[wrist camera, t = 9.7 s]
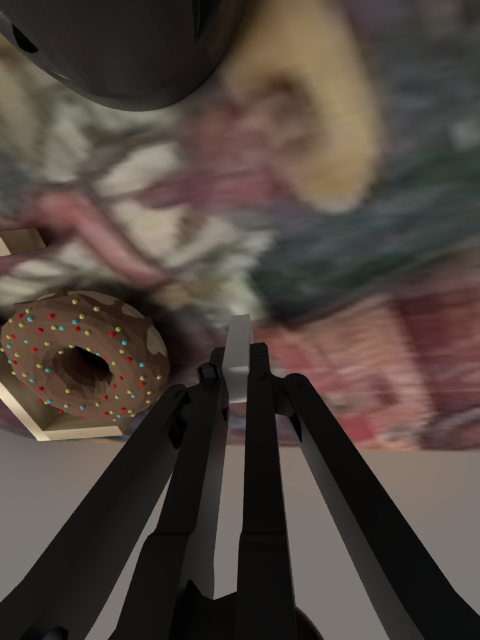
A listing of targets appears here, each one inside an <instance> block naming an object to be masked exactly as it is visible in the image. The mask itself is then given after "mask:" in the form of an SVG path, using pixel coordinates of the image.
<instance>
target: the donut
mask: <svg viewBox="0 0 480 640" xmlns="http://www.w3.org/2000/svg"><path fill="white" fill-rule="evenodd" d="M13 305H14V309H15V313H16V314H15V315H14V316H13V317H12V318H10V319H9V321H8V322H7V323H5V324H4V325H3V326H2V330H1V340H0V342H1V344H2V346H3V347H2V348H1V351H5V353H6V355H7V357H8V359H9V360H8V362H9V363H11V366H12V368H13V370H14V371H13V372H12V374H14V375H16V377H17V378H18V379H19V380H20V381H21V382H22V383H21V385H23V386H24V385H26V386H27V387H28V388H29V389H30V390H31V391H32V392H33V393H35V394H36V395H37V396H38V397H39V400H38V401H39V402H42V401H44V403H45V404H50V405H52V406H54V407H57V408H59V409H61V410H60V411H59V413H60V414H62V413H64V412H67V413H69V414H72V415H74V416H78V417H80V419H83V418H91V419H97V421H101V420H103V421H107V420H113V421H116V420H117V419H120V418H125V417H128V416H132V417H134V416H135V414H136V413H139V412H142V411H144V410H146V409H148V407H149V406H150V405H151V404H152V403H153V402H154V400H155V399H156V398H157V397H158V396H159V395H160V394H161V392H162V391H163V390H164V389H165V388H166V386H167V385H168V382H169V376H168V374H169V373H170V364H169V360H168V355H167V349H166V346H165V344H164V342H163V340H162V338H161V336H160V334H159V332H158V331H157V330H156V329H155V327H154V325H153V323H152V320H151V317H149V316H143V315H142V314H141V313H139V312H138V311H137V310H136V309H134V308H133V307H132V306H130V305H128V304H126V303H124V302H123V301H122V300H118V299H117V298H115V297H112V296H109V295H105V294H102V293H98V292H95V291H81V290H74V289H71V288H69V287H65V288H63V289H60V290H59V291H57V292H56V293H53V294H48V295H44V296H41V297H40V298H38V299H37V300H35V301H28V302H22V303H15V304H13ZM78 346H79V347H81V348H83V349H85V350H87V351H89V352H92V353H94V354H96V355H98V356H100V357H102V358H103V359H104V360H105V361H106V362H107V363H108V365H109V369H110V371H105V370H102V369H99V368H97V367H95V366H93V365H92V364H90V363H89V362H87V361H86V360H85V359H84V357H83V356H82V354H81V353H80V352H79V350H78Z"/></svg>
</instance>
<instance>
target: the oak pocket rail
mask: <svg viewBox="0 0 480 640" xmlns="http://www.w3.org/2000/svg"><path fill="white" fill-rule="evenodd" d="M40 248H46V245H45V243H44V241H43V240H42V238H41V236H40V234H39V232H38V230H37V229H36V228H29V229H19V230H8V231H0V256H5V255H10V254H15V253H20V252H25V251H30V250H35V249H40ZM1 330H2V326H1V325H0V340H1ZM2 347H3V346H2V344H1V342H0V398H1V399H2V401H3V402H4V403H5V404H6V405H7V406H8V407H9V408H10V410H11V411H12V412H13V413H14V414H15V415H16V416H17V417H18V418H19V420H20V421H21V422H22V423H23V424H24V425H25V426H26V427H27V428H28V430H29V431H30V432H31V433H32V434H33V435H34V436H35V437H36V438H37V440H38V441H45V440H59V439H73V438H87V437H101V436H116V435H123V434H124V432H125V431H126V429H127V427H128V425H129V424H130V422H131V420H132V418H133V417H132V416H128V417H125V418H120V419H117V420H116V421H113V420H107V421H103V420H101V421H97V419H91V418H83V419H80V417H78V416H74V415H72V414H69V413H67V412H64V413H62V414H60V413H59V411H60V410H61V409H59V408H57V407H54V406H52V405H50V404H45V403H44V401H42V402H39V401H38V400H39V397H38V396H37V395H36V394H35V393H33V392H32V391H31V390H30V389H29V388H28V387H27V386H26V385H24V386H23V385H21V383H22V382H21V381H20V380H19V379H18V378H17V377H16V375H14V374H12V372H13V371H14V370H13V368H12V366H11V363H9V362H8V360H9V359H8V357H7V355H6V353H5V351H1V348H2Z"/></svg>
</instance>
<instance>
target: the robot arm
mask: <svg viewBox="0 0 480 640" xmlns="http://www.w3.org/2000/svg"><path fill="white" fill-rule="evenodd" d="M247 1H248V0H0V33H1V34H2V35H3V36H4V37H5V38H6V39H7V40H8V41H9V42H10V43H11V44H12V45H13V46H14V47H15V48H17V49H18V50H19V51H20V52H21V53H22V54H23V55H25V56H26V57H27V58H28V59H29V60H30V61H32V62H33V63H34V64H35V65H37V66H38V67H39V68H41V69H42V70H43V71H45V72H46V73H48V74H49V75H51V76H52V77H54V78H55V79H57V80H58V81H60V82H61V83H63V84H64V85H66V86H67V87H69V88H70V89H72V90H73V91H75V92H77V93H78V94H80V95H82V96H83V97H85V98H87V99H89V100H91V101H93V102H96V103H98V104H101V105H103V106H106V107H110V108H113V109H118V110H124V111H148V110H153V109H158V108H161V107H164V106H167V105H169V104H172V103H174V102H176V101H178V100H180V99H181V98H183V97H184V96H186V95H187V94H189V93H190V92H191V91H193V90H194V89H195V88H196V87H197V86H199V85H200V84H201V83H202V82H203V81H204V80H205V79H206V77H207V76H208V75H209V74H210V73H211V72H212V71H213V69H214V68H215V66H216V65H217V64H218V62H219V61H220V59H221V58H222V56H223V55H224V53H225V52H226V50H227V48H228V46H229V44H230V43H231V41H232V39H233V37H234V35H235V32H236V30H237V28H238V26H239V23H240V21H241V18H242V16H243V13H244V10H245V7H246V4H247ZM196 371H197V374H198V377H199V380H200V382H199V384H197V385H194V386H192V387H189V388H186V386H185V385H183V384H175V385H172V386H171V387H169V388H168V389H167V390H166V391H165V392H164V393H163V395H162V396H161V397H160V399H159V400H158V401H157V402H156V404H155V405H154V406H153V408H152V409H151V410H150V412H149V413H148V414H147V416H146V417H145V418H144V420H143V421H142V422H141V424H140V425H139V426H138V428H137V429H136V430H135V432H134V433H133V434H132V436H131V437H130V438H129V440H128V441H127V442H126V444H125V445H124V446H123V448H122V449H121V450H120V452H119V453H118V454H117V456H116V457H115V458H114V459H113V461H112V462H111V463H110V465H109V466H108V468H107V469H106V470H105V471H104V473H103V474H102V475H101V477H100V478H99V479H98V481H97V482H96V483H95V485H94V486H93V487H92V489H91V490H90V491H89V493H88V494H87V495H86V497H85V498H84V499H83V501H82V502H81V503H80V505H79V506H78V507H77V509H76V510H75V511H74V513H73V514H72V515H71V516H70V518H69V519H68V521H67V522H66V523H65V524H64V526H63V527H62V529H61V530H60V531H59V532H58V534H57V535H56V536H55V538H54V539H53V540H52V542H51V543H50V544H49V546H48V547H47V548H46V550H45V551H44V553H43V554H42V555H41V556H40V558H39V559H38V560H37V562H36V563H35V564H34V566H33V567H32V568H31V570H30V571H29V572H28V573H27V575H26V576H25V577H24V579H23V580H22V581H21V583H19V584H18V585H17V587H15V588H14V589H13V590H12V592H11V593H10V594H9V595H7V597H6V598H4V600H2V601H1V602H0V640H84V639H85V638H86V636H87V634H88V633H89V631H90V630H91V628H92V626H93V625H94V623H95V622H96V620H97V618H98V616H99V614H100V612H101V610H102V609H103V607H104V605H105V603H106V601H107V599H108V597H109V595H110V594H111V592H112V590H113V588H114V586H115V584H116V582H117V580H118V578H119V576H120V574H121V572H122V570H123V568H124V566H125V564H126V562H127V560H128V558H129V556H130V554H131V552H132V550H133V548H134V546H135V544H136V543H137V541H138V539H139V537H140V534H141V532H142V530H143V529H144V527H145V525H146V523H147V521H148V519H149V517H150V515H151V513H152V511H153V509H154V507H155V505H156V503H157V501H158V499H159V497H160V495H161V493H162V491H163V489H164V487H165V485H166V484H167V482H168V480H169V478H170V476H171V474H172V477H171V480H170V484H169V487H168V490H167V494H166V497H165V500H164V504H163V507H162V511H161V514H160V517H159V521H158V524H157V527H156V529H155V531H154V532H153V533H151V534H150V535H149V536H148V537H147V539H146V540H145V542H144V544H143V547H142V549H141V552H140V555H139V558H138V561H137V564H136V567H135V571H134V574H133V577H132V580H131V583H130V586H129V589H128V592H127V595H126V599H125V602H124V605H123V608H122V611H121V614H120V617H119V620H118V624H117V627H116V629H115V630H114V632H113V633H112V635H111V636H110V637H109V639H108V640H324V638H323V637H322V635H321V634H320V632H319V631H318V629H317V628H316V627H315V625H314V624H313V623H312V621H311V620H310V619H309V618H308V617H307V616H306V615H305V614H304V613H303V612H302V611H301V610H300V609H299V608H298V607H297V606H296V605H295V595H294V587H293V577H292V568H291V559H290V550H289V541H288V531H287V522H286V513H285V503H284V494H283V484H282V475H281V466H280V457H279V447H278V437H277V428H276V418H275V414H279V415H284V416H287V419H288V421H289V424H290V426H291V428H292V430H293V432H294V434H295V437H296V439H297V441H298V443H299V445H300V448H301V449H302V452H303V454H304V456H305V459H306V461H307V463H308V465H309V467H310V469H311V472H312V474H313V476H314V478H315V480H316V482H317V485H318V487H319V489H320V491H321V493H322V496H323V498H324V500H325V502H326V504H327V507H328V509H329V511H330V513H331V515H332V517H333V519H334V522H335V524H336V526H337V528H338V531H339V533H340V535H341V537H342V539H343V541H344V543H345V546H346V548H347V550H348V553H349V555H350V557H351V559H352V561H353V563H354V566H355V568H356V570H357V572H358V574H359V577H360V579H361V581H362V583H363V585H364V587H365V590H366V592H367V594H368V596H369V598H370V601H371V603H372V605H373V607H374V609H375V611H376V613H377V615H378V617H379V619H380V621H381V623H382V625H383V627H384V629H385V631H386V633H387V635H388V637H389V639H390V640H480V616H479V615H478V614H477V613H476V612H475V611H474V610H473V609H472V608H471V607H470V606H469V605H468V604H467V603H466V602H465V601H464V600H463V599H462V598H461V597H460V596H459V595H458V594H457V593H456V592H455V590H454V589H453V587H452V586H451V585H450V583H449V582H448V580H447V579H446V577H445V576H444V574H443V573H442V572H441V570H440V569H439V567H438V566H437V564H436V563H435V562H434V560H433V559H432V557H431V556H430V554H429V553H428V551H427V550H426V548H425V547H424V546H423V544H422V543H421V541H420V540H419V539H418V537H417V535H416V534H415V533H414V531H413V530H412V528H411V527H410V525H409V524H408V522H407V521H406V520H405V519H404V517H403V515H402V514H401V512H400V511H399V510H398V508H397V507H396V505H395V504H394V502H393V501H392V499H391V498H390V497H389V495H388V494H387V492H386V491H385V489H384V488H383V487H382V485H381V484H380V482H379V481H378V479H377V478H376V476H375V475H374V474H373V472H372V471H371V469H370V468H369V466H368V465H367V464H366V462H365V461H364V459H363V458H362V456H361V455H360V453H359V452H358V450H357V449H356V448H355V446H354V445H353V443H352V442H351V440H350V439H349V437H348V436H347V435H346V433H345V432H344V430H343V429H342V427H341V426H340V425H339V423H338V422H337V420H336V419H335V417H334V416H333V414H332V413H331V412H330V410H329V409H328V407H327V406H326V404H325V403H324V401H323V400H322V399H321V397H320V396H319V394H318V393H317V391H316V390H315V389H314V387H313V386H312V384H311V383H310V381H309V380H308V378H307V377H305V376H304V375H302V374H299V373H291V374H289V375H287V376H286V377H285V378H279V377H276V376H274V375H273V374H272V373H271V372H270V364H269V356H268V347H267V345H266V344H265V343H264V342H263V343H254V341H253V335H252V328H251V322H250V315H249V314H246V315H238V316H231V321H230V326H229V332H228V337H227V342H226V347H220V348H215V349H214V350H213V351H212V353H211V357H210V360H209V362H206V363H204V364H202V365H200V366H199V367H198V368H197V370H196ZM228 400H230V403H237V402H247V405H246V437H245V470H244V500H243V502H244V503H243V527H242V532H241V535H240V540H239V552H238V576H237V591H236V592H234V593H231V594H229V595H226V596H224V597H221V598H218V599H216V600H213V596H214V565H213V564H214V563H213V562H214V550H215V540H216V531H217V522H218V521H217V520H218V513H219V503H220V493H221V485H222V475H223V465H224V457H225V447H226V438H227V429H228V419H229V405H228ZM172 472H173V473H172Z"/></svg>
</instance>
